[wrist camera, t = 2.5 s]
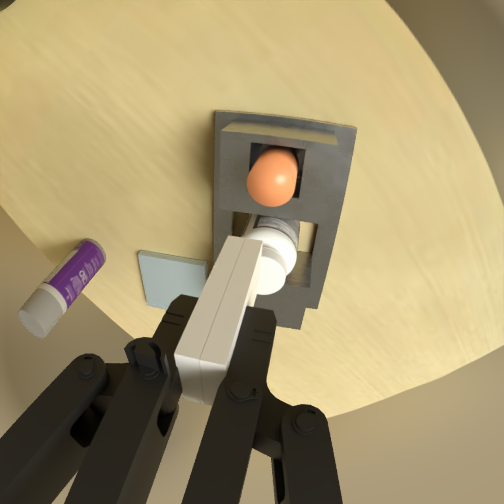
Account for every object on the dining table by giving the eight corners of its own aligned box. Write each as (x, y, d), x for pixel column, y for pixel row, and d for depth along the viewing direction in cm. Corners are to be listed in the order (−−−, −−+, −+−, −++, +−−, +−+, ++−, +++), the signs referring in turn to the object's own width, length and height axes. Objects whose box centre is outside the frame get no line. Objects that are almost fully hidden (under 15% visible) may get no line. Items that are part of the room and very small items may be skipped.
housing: (217, 109, 28) (196, 122, 23) (356, 127, 27) (365, 143, 22) (215, 287, 41) (201, 321, 36) (317, 304, 39) (315, 341, 34)
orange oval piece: (259, 141, 25) (248, 159, 21) (300, 146, 25) (297, 165, 21) (256, 178, 27) (245, 203, 23) (296, 184, 27) (291, 209, 23)
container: (111, 259, 42) (52, 336, 30) (94, 269, 44) (37, 341, 31) (91, 233, 40) (24, 305, 28) (75, 245, 42) (12, 313, 30)
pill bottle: (273, 249, 36) (258, 310, 28) (239, 215, 34) (214, 270, 26) (311, 223, 33) (307, 282, 25) (277, 185, 32) (262, 236, 24)
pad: (141, 250, 40) (138, 254, 39) (207, 261, 39) (205, 266, 38) (150, 300, 45) (147, 305, 44) (209, 313, 44) (207, 318, 43)
